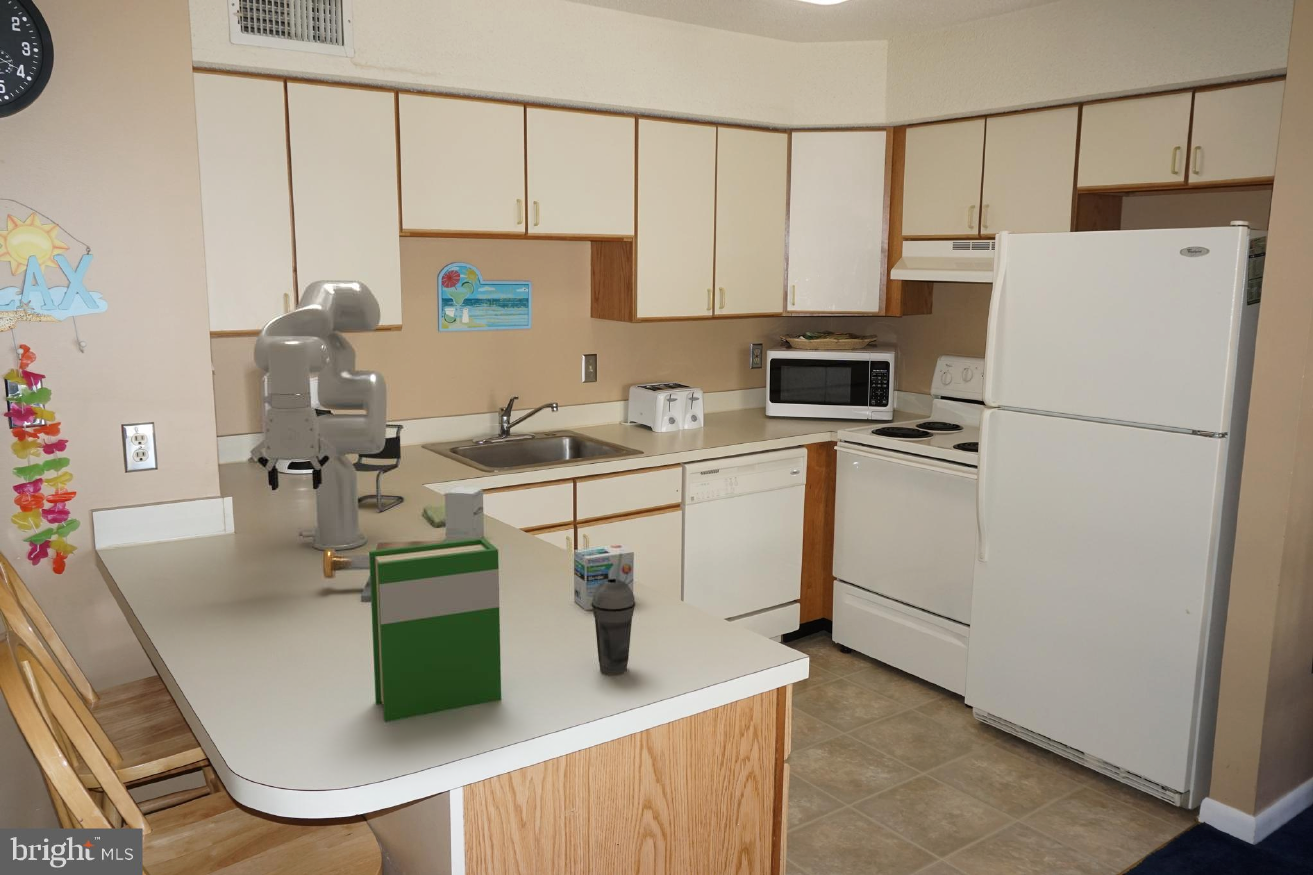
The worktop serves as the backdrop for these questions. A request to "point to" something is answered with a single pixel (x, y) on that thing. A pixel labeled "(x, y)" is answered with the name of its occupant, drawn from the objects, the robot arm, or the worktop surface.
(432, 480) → the worktop surface
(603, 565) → the light bulb box
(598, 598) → the beverage cup
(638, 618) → the worktop surface
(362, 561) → the shaft
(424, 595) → the hardback book
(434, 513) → the washcloth
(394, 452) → the chair
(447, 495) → the supplement box
